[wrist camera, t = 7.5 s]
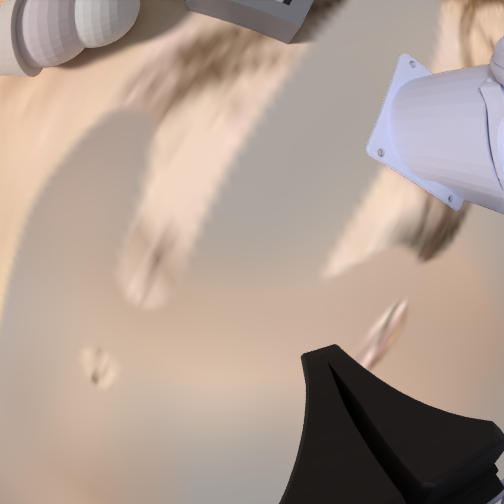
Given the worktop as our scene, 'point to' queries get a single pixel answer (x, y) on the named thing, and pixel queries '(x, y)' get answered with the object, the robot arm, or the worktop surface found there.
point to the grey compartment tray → (257, 14)
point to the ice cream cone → (58, 31)
